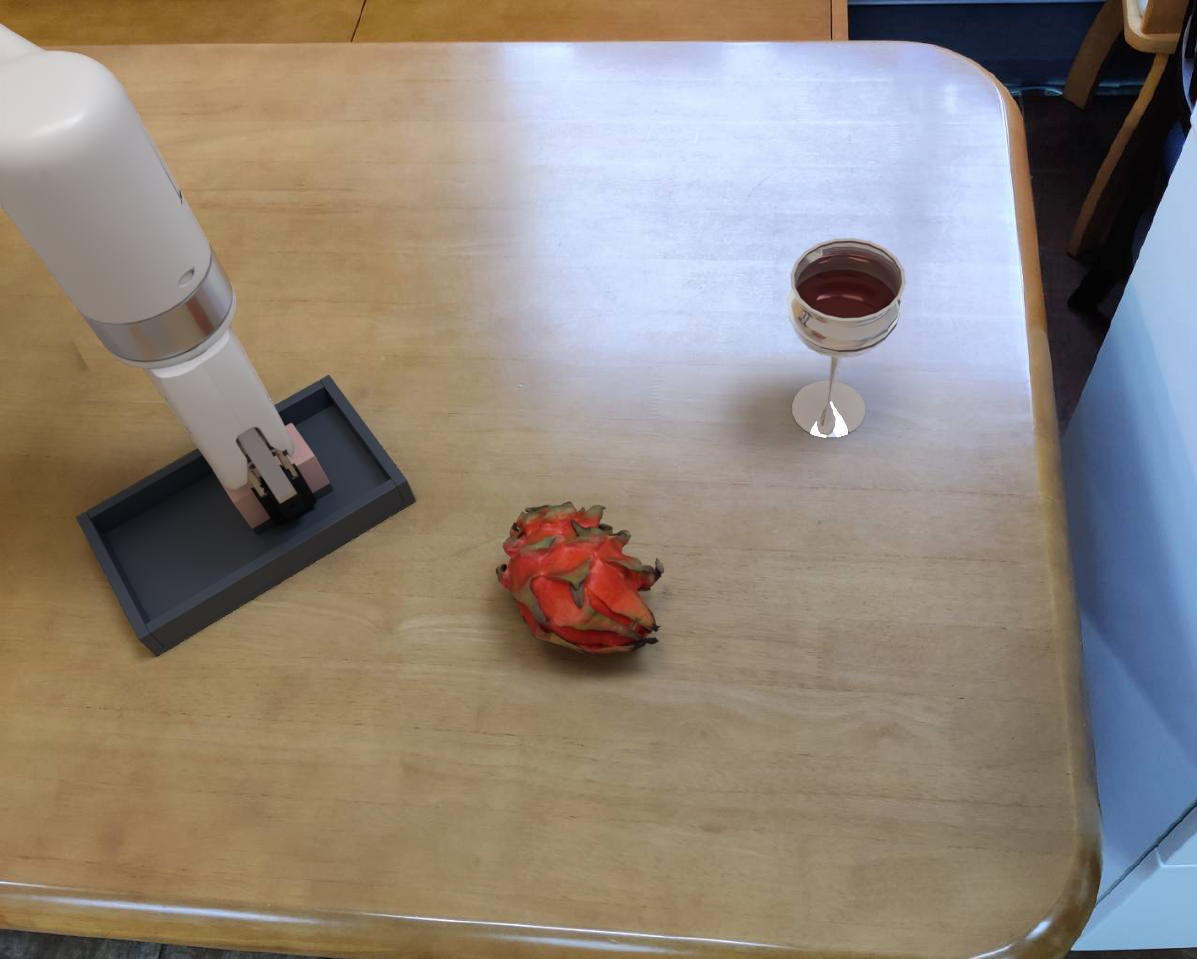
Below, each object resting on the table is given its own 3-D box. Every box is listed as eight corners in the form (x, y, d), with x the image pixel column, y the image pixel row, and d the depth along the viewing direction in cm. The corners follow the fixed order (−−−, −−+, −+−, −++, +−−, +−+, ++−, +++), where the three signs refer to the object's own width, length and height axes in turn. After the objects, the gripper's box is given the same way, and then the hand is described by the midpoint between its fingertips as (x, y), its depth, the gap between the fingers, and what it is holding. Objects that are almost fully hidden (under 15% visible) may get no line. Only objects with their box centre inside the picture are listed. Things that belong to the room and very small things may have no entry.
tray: (156, 657, 68) (138, 639, 66) (93, 536, 73) (74, 516, 71) (416, 501, 72) (407, 480, 70) (339, 396, 77) (328, 374, 75)
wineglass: (760, 393, 74) (768, 263, 63) (846, 356, 74) (867, 222, 64) (809, 463, 70) (826, 338, 60) (898, 424, 71) (929, 294, 61)
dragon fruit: (528, 552, 71) (655, 674, 68) (441, 588, 64) (576, 725, 61) (581, 455, 66) (720, 582, 63) (492, 484, 59) (643, 627, 56)
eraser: (257, 535, 71) (233, 502, 68) (235, 501, 73) (211, 468, 69) (334, 490, 72) (314, 455, 69) (311, 457, 74) (291, 422, 70)
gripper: (41, 244, 59) (185, 443, 75) (152, 429, 52) (286, 605, 68) (161, 183, 61) (278, 390, 77) (286, 353, 53) (386, 543, 69)
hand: (281, 489), depth 72 cm, fingers closed on eraser, 3 cm apart
